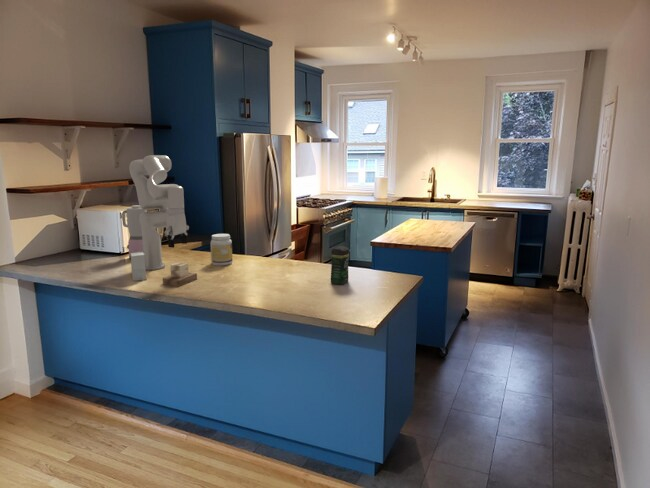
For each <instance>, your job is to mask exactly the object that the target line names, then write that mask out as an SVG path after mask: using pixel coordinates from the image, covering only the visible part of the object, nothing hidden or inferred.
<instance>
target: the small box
mask: <svg viewBox="0 0 650 488" xmlns="http://www.w3.org/2000/svg"><path fill="white" fill-rule="evenodd" d="M130 265H131V267H130V268H131V277H132V281H133V282H137V281H144V280H147V272H146V271H147V270H146V267H145V255H144V253H143V252H138V253H131V259H130Z"/></svg>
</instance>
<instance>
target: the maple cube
mask: <svg viewBox="0 0 650 488" xmlns="http://www.w3.org/2000/svg"><path fill="white" fill-rule="evenodd" d="M188 272H189V263H186V262H180V261H179V262H175V263H172V264H170V275H171V277H179V278H182V277H184V276H187V275H189V273H190V272H189V273H188Z"/></svg>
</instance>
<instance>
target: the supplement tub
mask: <svg viewBox="0 0 650 488" xmlns="http://www.w3.org/2000/svg"><path fill="white" fill-rule="evenodd" d="M232 241H233V240H232V239H231V235H230V234H229V233H216V234H212V235H211V240H210V243H209V244H210V261H211V262H210V263H211V264H212V265H213V266H222V267H223V266H229V265H231V264H233V242H232Z"/></svg>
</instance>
